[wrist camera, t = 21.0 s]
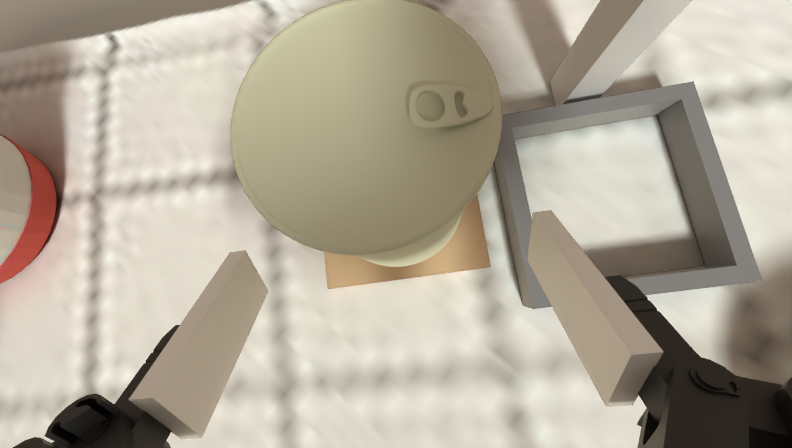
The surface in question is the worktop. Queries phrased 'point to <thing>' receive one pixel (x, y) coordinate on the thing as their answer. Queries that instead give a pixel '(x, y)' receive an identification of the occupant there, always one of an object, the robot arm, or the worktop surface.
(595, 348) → the robot arm
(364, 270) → the plate
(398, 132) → the can
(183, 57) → the worktop surface
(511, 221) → the socket
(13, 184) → the citrus juicer
